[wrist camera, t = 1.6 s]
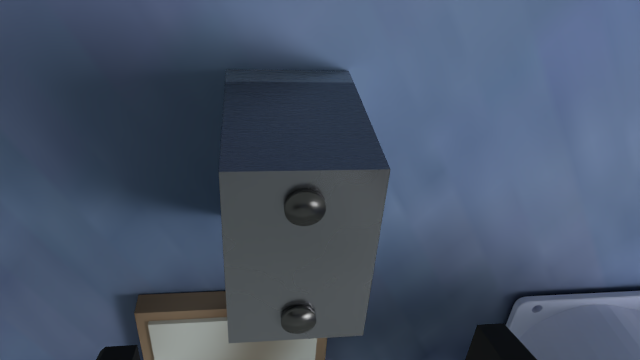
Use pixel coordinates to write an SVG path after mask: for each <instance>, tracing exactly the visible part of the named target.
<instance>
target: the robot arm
mask: <svg viewBox="0 0 640 360" xmlns="http://www.w3.org/2000/svg"><path fill="white" fill-rule="evenodd" d="M96 360H140V356H139V351H138V347H137V345H130V346H113V347H105V348H104V349H103V350H101V351H100V353H99V355H98V357H97V359H96ZM465 360H640V291H625V292H605V293H585V294H565V295H545V296H526V297H522V298H519V299H518V300H517V301H516V302H515V304H514V306H513V308H512V311H511V313H510V316H509V318H508V321H507V323H506V325H505V324H504V323H502V324H485V325H477V328H476V331H475V333H474V336H473V339H472V342H471V345H470V348H469V351H468V353H467V356H466V359H465Z"/></svg>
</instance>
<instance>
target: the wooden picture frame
mask: <svg viewBox="0 0 640 360" xmlns="http://www.w3.org/2000/svg"><path fill="white" fill-rule="evenodd" d="M134 315H135V320H136V324H137V329H138V334H139V339H140V344H141V349H142V354H143V359H144V360H325V354H326V345H327V338H313V339H296V340H279V341H262V342H245V343H229V342H228V324H227V307H226V291H215V292H193V293H170V294H148V295H138V299H137V303H136V308H135V312H134Z"/></svg>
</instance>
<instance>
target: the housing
mask: <svg viewBox="0 0 640 360" xmlns="http://www.w3.org/2000/svg"><path fill="white" fill-rule="evenodd" d="M389 174H390V167H389V165H388V163H387V160H386V158H385V156H384V153H383V151H382V149H381V146H380V144H379V141H378V139H377V137H376V134H375V132H374V130H373V127H372V125H371V122H370V120H369V118H368V115H367V113H366V111H365V108H364V106H363V103H362V101H361V99H360V96H359V94H358V92H357V89H356V87H355V84H354V82H353V80H352V77H351V75H350V73H349V71H317V70H230V69H226V77H225V91H224V105H223V119H222V133H221V147H220V161H219V185H220V203H221V220H222V237H223V255H224V272H225V290H226V307H227V324H228V342H229V343H245V342H262V341H279V340H296V339H313V338H330V337H347V336H363V332H364V326H365V320H366V314H367V308H368V302H369V296H370V290H371V284H372V277H373V271H374V265H375V259H376V253H377V247H378V241H379V235H380V229H381V223H382V217H383V211H384V205H385V199H386V192H387V186H388V180H389Z"/></svg>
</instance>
